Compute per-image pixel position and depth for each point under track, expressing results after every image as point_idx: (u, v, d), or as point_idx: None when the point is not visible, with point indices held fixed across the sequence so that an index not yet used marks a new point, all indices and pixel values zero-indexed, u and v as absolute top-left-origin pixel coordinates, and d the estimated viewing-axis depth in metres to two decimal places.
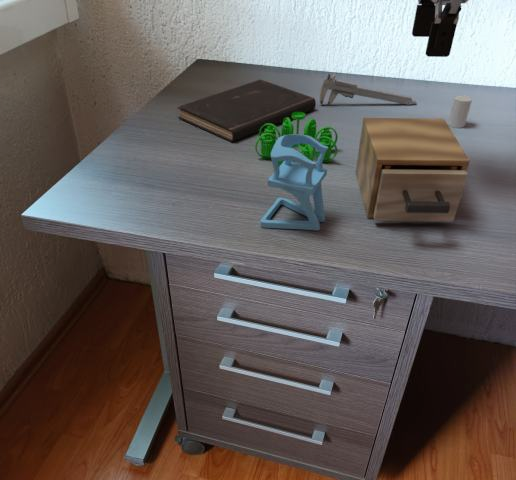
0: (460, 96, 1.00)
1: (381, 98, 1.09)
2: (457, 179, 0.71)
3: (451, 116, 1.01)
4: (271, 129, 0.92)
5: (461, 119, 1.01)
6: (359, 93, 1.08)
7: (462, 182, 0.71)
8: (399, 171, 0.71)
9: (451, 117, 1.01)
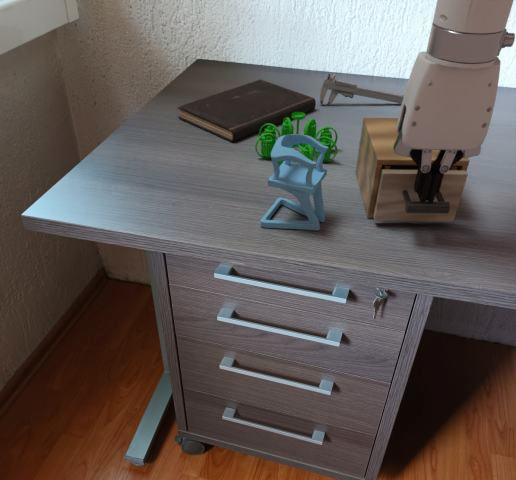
0: None
1: (381, 98, 1.09)
2: (457, 179, 0.71)
3: None
4: (271, 129, 0.92)
5: None
6: (359, 93, 1.08)
7: (462, 182, 0.71)
8: (399, 171, 0.71)
9: None
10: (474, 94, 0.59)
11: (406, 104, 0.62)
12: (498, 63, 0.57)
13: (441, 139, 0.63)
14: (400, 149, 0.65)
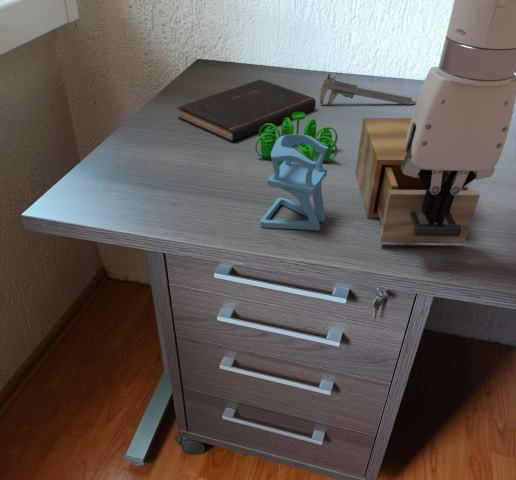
0: None
1: (381, 98, 1.09)
2: (469, 200, 0.67)
3: None
4: (271, 129, 0.92)
5: None
6: (359, 93, 1.08)
7: (474, 203, 0.67)
8: (407, 191, 0.67)
9: None
10: (489, 113, 0.55)
11: (416, 122, 0.58)
12: (515, 80, 0.54)
13: (453, 160, 0.59)
14: (408, 170, 0.61)
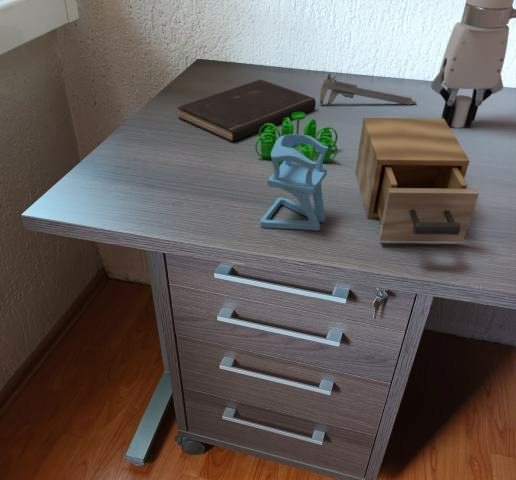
0: (460, 96, 1.00)
1: (381, 98, 1.09)
2: (468, 198, 0.67)
3: None
4: (271, 129, 0.92)
5: (461, 119, 1.01)
6: (359, 93, 1.08)
7: (473, 201, 0.68)
8: (406, 190, 0.67)
9: None
10: (492, 49, 0.91)
11: (447, 57, 0.94)
12: (507, 28, 0.90)
13: (469, 80, 0.95)
14: (435, 86, 0.97)
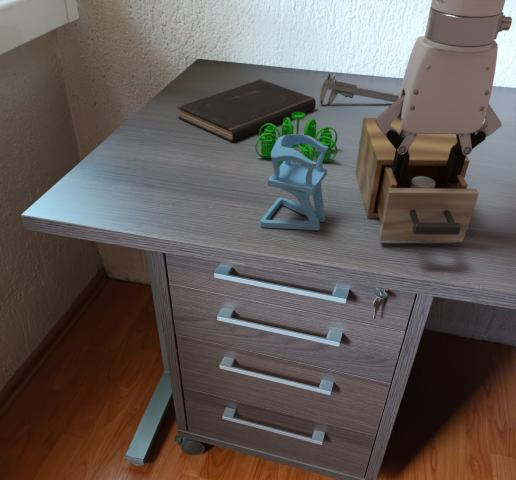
0: (419, 178, 0.72)
1: (381, 98, 1.09)
2: (468, 198, 0.67)
3: None
4: (271, 129, 0.92)
5: None
6: (359, 93, 1.08)
7: (473, 201, 0.68)
8: (406, 190, 0.67)
9: None
10: (472, 78, 0.60)
11: (405, 89, 0.63)
12: (495, 47, 0.58)
13: (440, 123, 0.64)
14: (382, 123, 0.65)
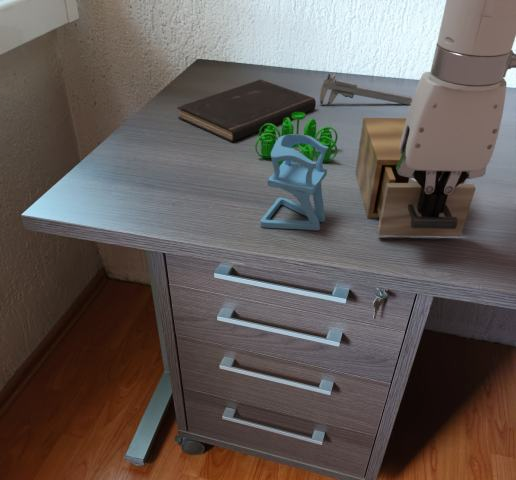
0: None
1: (381, 98, 1.09)
2: (465, 193, 0.68)
3: None
4: (271, 129, 0.92)
5: None
6: (359, 93, 1.08)
7: (470, 196, 0.69)
8: (404, 185, 0.68)
9: None
10: (479, 116, 0.57)
11: (409, 125, 0.60)
12: (504, 85, 0.56)
13: (445, 161, 0.61)
14: (403, 170, 0.64)
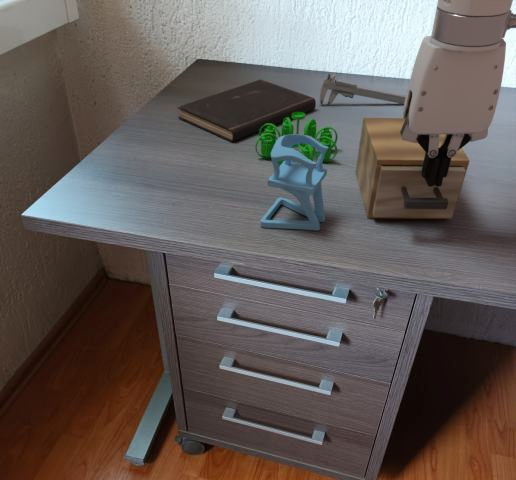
0: None
1: (381, 98, 1.09)
2: (455, 175, 0.72)
3: None
4: (271, 129, 0.92)
5: None
6: (359, 93, 1.08)
7: (460, 179, 0.72)
8: (398, 168, 0.72)
9: None
10: (480, 77, 0.59)
11: (412, 90, 0.62)
12: (504, 45, 0.57)
13: (448, 123, 0.63)
14: (407, 135, 0.66)
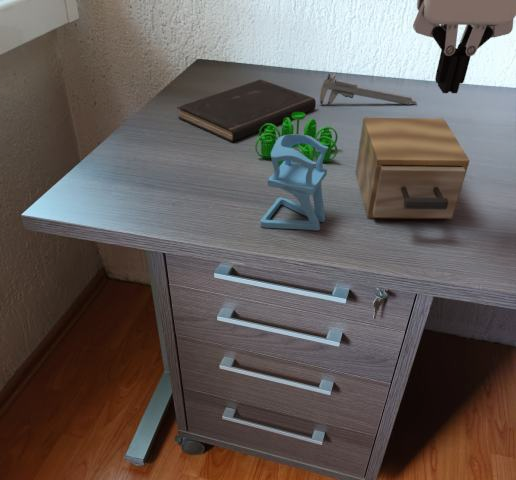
0: None
1: (381, 98, 1.09)
2: (455, 175, 0.72)
3: None
4: (271, 129, 0.92)
5: None
6: (359, 93, 1.08)
7: (460, 179, 0.72)
8: (398, 168, 0.72)
9: None
10: None
11: None
12: None
13: (469, 9, 0.55)
14: (421, 27, 0.58)
